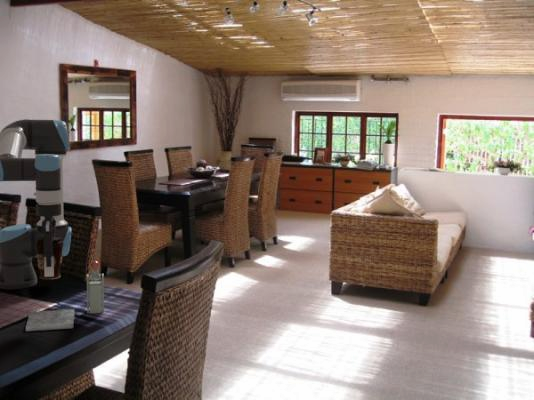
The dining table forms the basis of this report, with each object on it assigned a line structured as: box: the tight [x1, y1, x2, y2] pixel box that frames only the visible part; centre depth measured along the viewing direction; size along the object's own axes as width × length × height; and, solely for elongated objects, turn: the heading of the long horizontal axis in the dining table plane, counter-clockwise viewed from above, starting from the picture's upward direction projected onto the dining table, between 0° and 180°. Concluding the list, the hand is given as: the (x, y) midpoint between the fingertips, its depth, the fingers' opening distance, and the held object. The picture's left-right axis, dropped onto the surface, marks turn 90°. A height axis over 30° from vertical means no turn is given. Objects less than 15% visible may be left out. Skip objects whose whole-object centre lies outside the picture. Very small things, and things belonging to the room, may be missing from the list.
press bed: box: [25, 308, 75, 332], centre depth 191 cm, size 14×14×2 cm
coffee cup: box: [36, 237, 64, 280], centre depth 187 cm, size 9×8×13 cm
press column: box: [86, 273, 105, 314], centre depth 201 cm, size 4×6×13 cm
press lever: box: [89, 260, 102, 282], centre depth 195 cm, size 15×4×3 cm
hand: (50, 272), depth 188 cm, fingers closed on coffee cup, 7 cm apart
